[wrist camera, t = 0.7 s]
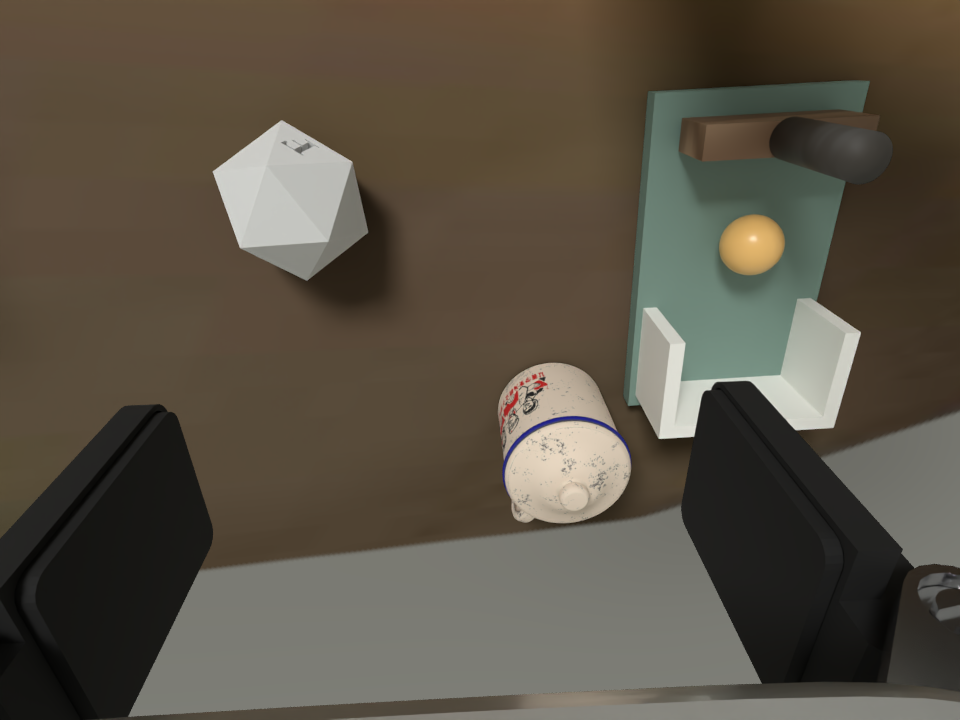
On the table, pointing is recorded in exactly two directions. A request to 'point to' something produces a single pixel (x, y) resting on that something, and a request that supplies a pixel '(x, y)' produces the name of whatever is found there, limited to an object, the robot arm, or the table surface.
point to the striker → (794, 141)
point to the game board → (722, 292)
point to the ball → (751, 244)
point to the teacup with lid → (560, 446)
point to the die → (292, 200)
